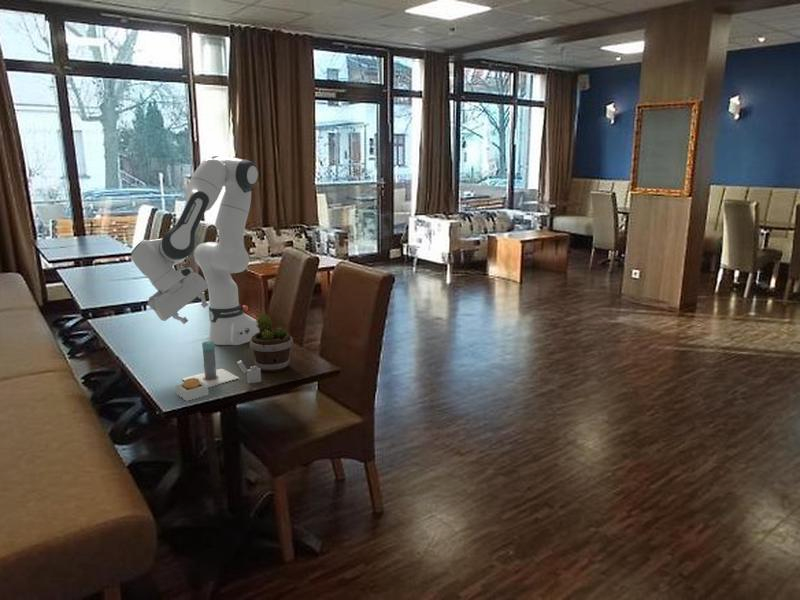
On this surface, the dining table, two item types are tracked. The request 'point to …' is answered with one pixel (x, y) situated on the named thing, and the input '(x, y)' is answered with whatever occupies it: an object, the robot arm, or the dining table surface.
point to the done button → (191, 383)
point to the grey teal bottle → (209, 360)
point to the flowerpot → (270, 346)
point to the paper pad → (220, 378)
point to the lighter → (251, 373)
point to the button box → (192, 391)
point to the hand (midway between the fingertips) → (196, 314)
